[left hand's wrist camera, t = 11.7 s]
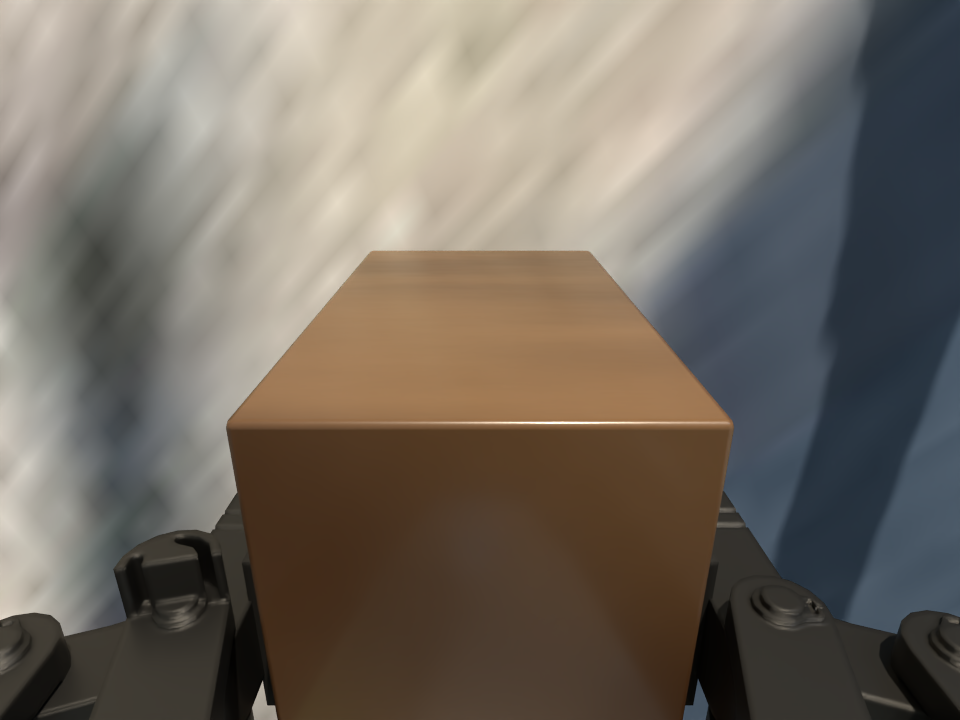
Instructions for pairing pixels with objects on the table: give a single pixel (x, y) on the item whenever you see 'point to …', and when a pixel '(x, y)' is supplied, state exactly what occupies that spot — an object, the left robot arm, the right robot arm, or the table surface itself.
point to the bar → (480, 497)
